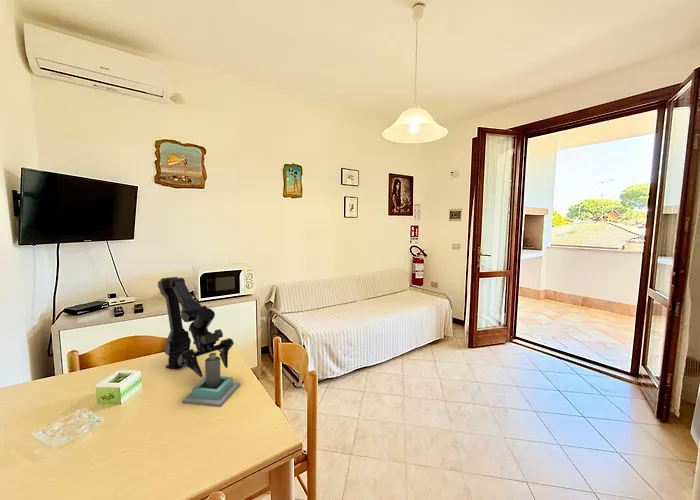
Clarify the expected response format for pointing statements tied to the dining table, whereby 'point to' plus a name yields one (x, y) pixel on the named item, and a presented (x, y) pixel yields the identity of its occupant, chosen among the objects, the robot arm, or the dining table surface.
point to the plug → (212, 371)
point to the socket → (212, 393)
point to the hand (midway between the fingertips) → (214, 371)
